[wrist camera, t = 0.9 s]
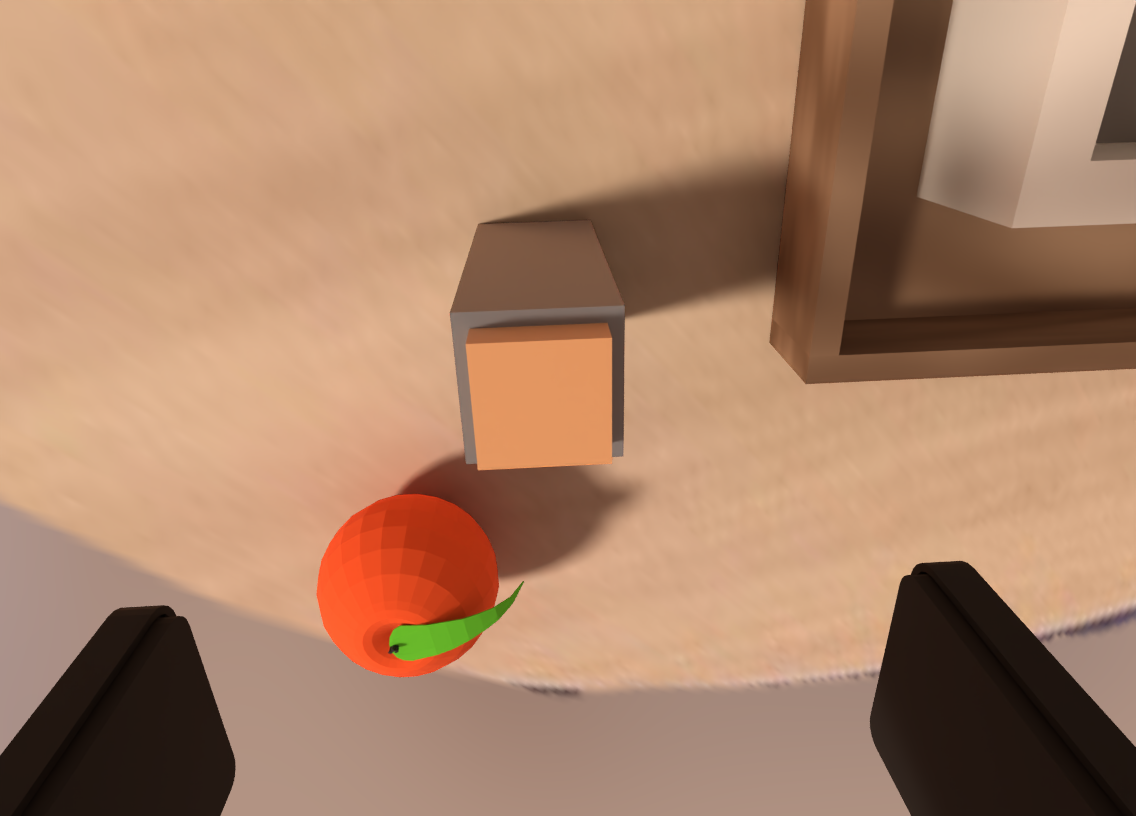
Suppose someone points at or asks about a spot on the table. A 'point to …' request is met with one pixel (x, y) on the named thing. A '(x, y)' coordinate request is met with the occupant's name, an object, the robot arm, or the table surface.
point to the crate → (921, 230)
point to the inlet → (1036, 113)
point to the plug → (539, 348)
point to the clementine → (409, 585)
